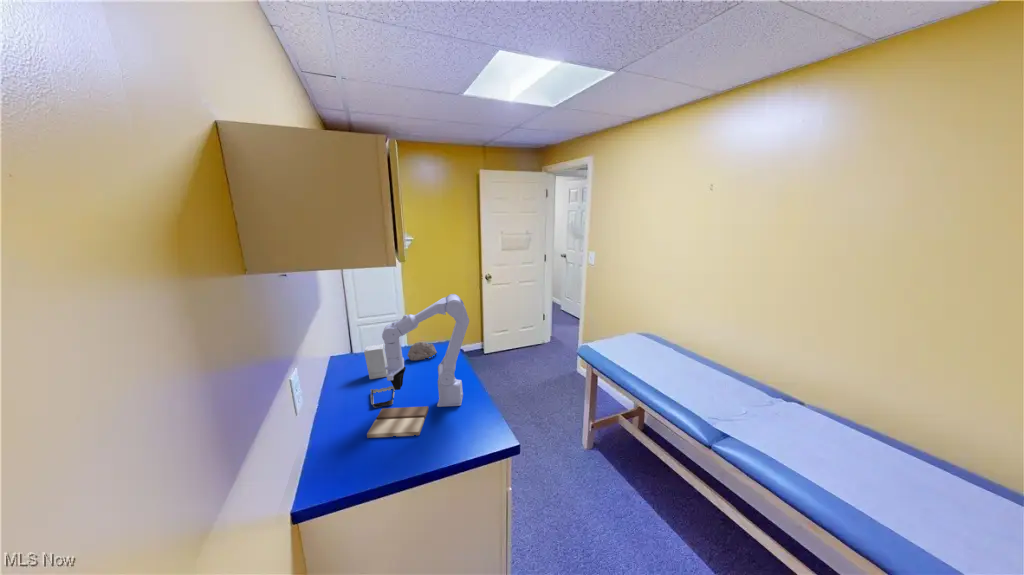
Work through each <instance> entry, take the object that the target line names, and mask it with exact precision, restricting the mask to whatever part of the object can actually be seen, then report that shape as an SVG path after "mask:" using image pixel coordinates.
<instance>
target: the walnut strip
mask: <svg viewBox="0 0 1024 575" xmlns="http://www.w3.org/2000/svg"><path fill="white" fill-rule="evenodd" d="M428 412H429V406H428V405H426V406H424V405H423V406H405V407H388V408H387V407H384V408H381V410H380V411H379V413H378V415H377V416H376V418H375V420H381V419H402V418H423V417H424V420H426V418H427V416H428Z"/></svg>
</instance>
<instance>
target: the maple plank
mask: <svg viewBox="0 0 1024 575" xmlns="http://www.w3.org/2000/svg"><path fill="white" fill-rule="evenodd" d="M425 420H426V419H424V417H423V418H402V419H381V420H377V419H374V421H373V423H372V425H371V427H370V428H369V429H368V431H367V433H366V437H367V439H369V438H370V439H372V438H390V437H391V438H392V437H393V436H396V437H412V436H414V435H416V436H420V434H421V432H422V430H423V426H424V423H425ZM393 438H394V437H393Z"/></svg>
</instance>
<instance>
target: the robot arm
mask: <svg viewBox="0 0 1024 575" xmlns="http://www.w3.org/2000/svg"><path fill="white" fill-rule="evenodd" d="M446 313H447V314H448V315H449V316H450V317H452V318H453V320H454V321H455V323H454V327H453V330H452V334H451V337H450V338H449V342H448V346H447V348H446V351H445V355H444V357H443V358H442V360H441V362H440V363H439V364H438V366H437V374H438V379H437V389H438V398H439V399H438V401H437V404H436V407H438V408H439V407H440V408H441V407H458V406H459V407H460V406H462V402H463V398H464V392H463V382H462V379H457V378H456V377H455V371H456V366H457V360H458V356H459V355H460V351H461V347H462V345H463V343H464V340H465V336H466V333H467V330H468V327H469V324H470V318H469V316H468V312H467V308H466V306H465V303H464V301H463V300H462V299H461V297H460V296H459V295H457V294H455V293H451V294H448V295H447V296H445V297H442V298H441V299H438V301H437V300H436V302H434V303H432V304H430V305H429V306H427V307H425V308H424V309H422V310H421V311H419V312H417V313H416V314H404V315H403V316H402V318H400V319H399V320H397V321H392V322H391V323H390V324H387V325H386V326H385V327H384V328H383V331H382V334H381V338H382V340H383V344H384V348H385V353H386V359H387V366H385V369H387V372H388V374H387V377H386V380H387V382H388V381H390V383H391V386H393V387H394V389H395V391H398V390H401V388H402V387H403V384H404V376H405V372H406V368H407V367H406V366H405V358H404V357H403V351H402V344H401V339H400V337H403V336H405V335H407V334H408V333H410V332H411V331H414V330H415V329H417V328H418V327H419V324H420V323H421V322H424V321H425V320H427V319H430V318H431V317H434V316H435V315H443V316H444V315H445V316H446ZM394 389H393V390H394Z"/></svg>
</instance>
